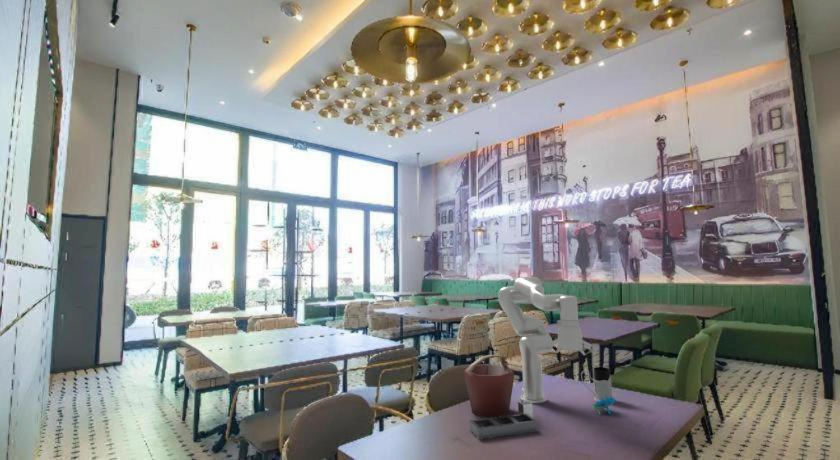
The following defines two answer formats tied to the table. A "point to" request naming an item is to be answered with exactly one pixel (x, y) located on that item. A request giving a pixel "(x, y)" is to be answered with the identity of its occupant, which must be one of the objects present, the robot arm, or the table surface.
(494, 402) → the bucket
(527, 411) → the white slotted box
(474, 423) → the grey compartment tray
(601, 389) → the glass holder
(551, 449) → the table surface
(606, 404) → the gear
